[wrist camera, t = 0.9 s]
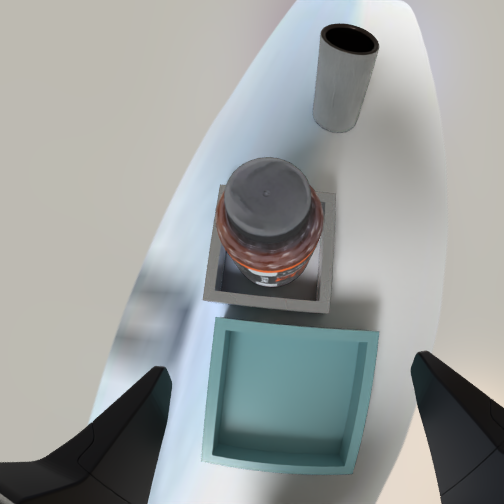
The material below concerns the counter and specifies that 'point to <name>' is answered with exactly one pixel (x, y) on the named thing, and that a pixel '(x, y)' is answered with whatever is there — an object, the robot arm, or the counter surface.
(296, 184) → the supplement bottle
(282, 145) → the counter surface
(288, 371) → the bin
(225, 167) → the counter surface
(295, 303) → the collar
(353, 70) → the grey hollow cylinder
